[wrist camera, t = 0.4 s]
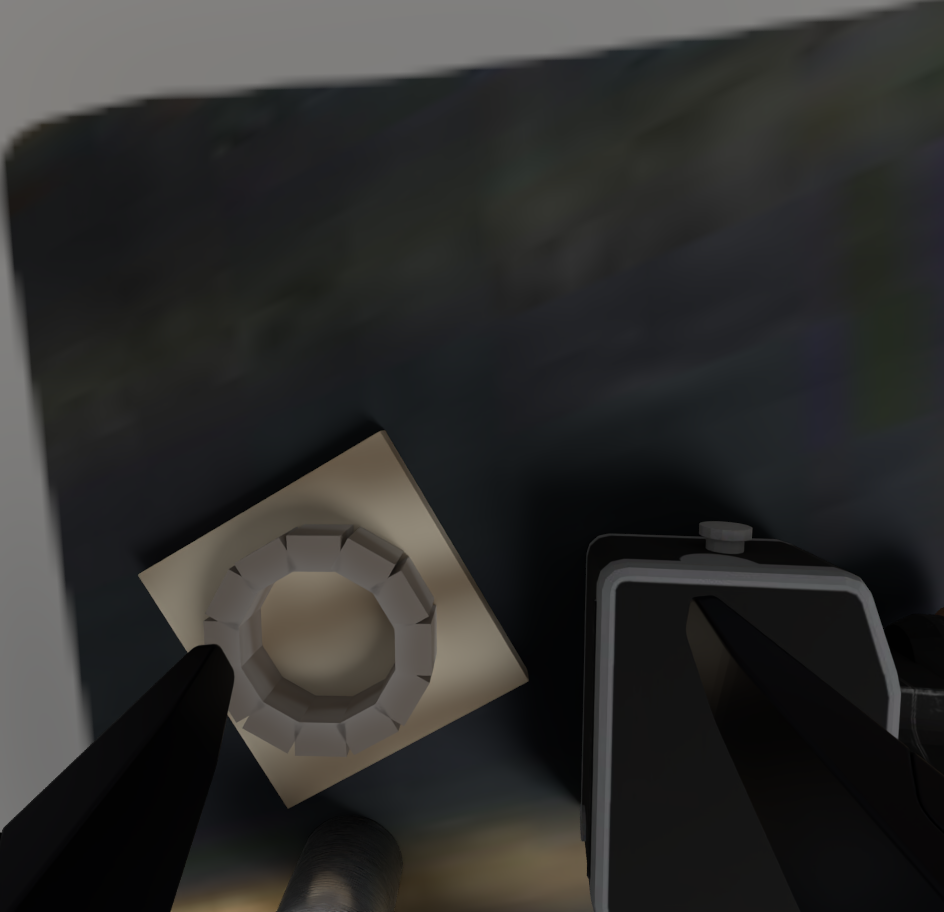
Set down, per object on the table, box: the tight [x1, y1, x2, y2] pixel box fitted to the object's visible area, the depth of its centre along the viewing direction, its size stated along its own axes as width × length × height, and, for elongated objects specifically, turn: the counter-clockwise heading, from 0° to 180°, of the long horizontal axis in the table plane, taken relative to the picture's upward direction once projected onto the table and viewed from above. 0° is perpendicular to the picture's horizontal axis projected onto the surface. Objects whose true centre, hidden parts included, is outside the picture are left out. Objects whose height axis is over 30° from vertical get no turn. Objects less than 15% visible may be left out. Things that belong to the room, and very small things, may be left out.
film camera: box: [580, 521, 944, 912], centre depth 20 cm, size 8×16×15 cm
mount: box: [138, 430, 529, 809], centre depth 23 cm, size 13×13×3 cm
